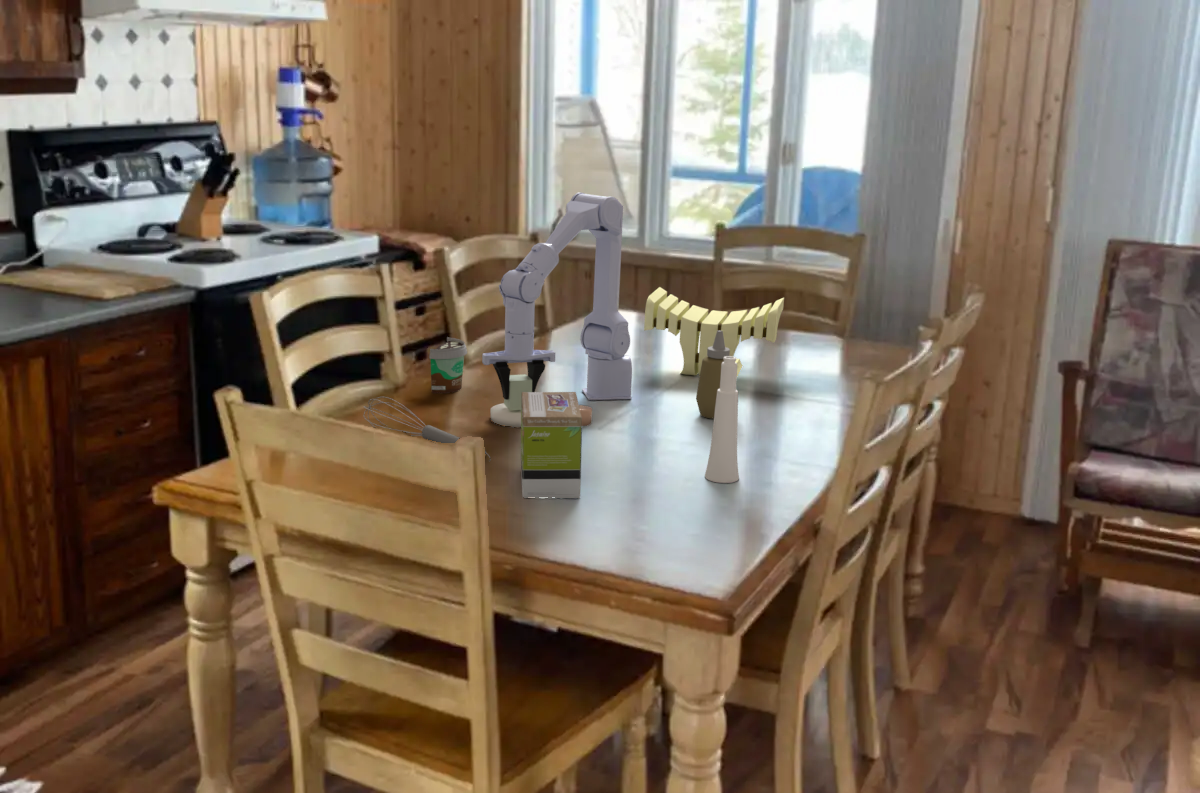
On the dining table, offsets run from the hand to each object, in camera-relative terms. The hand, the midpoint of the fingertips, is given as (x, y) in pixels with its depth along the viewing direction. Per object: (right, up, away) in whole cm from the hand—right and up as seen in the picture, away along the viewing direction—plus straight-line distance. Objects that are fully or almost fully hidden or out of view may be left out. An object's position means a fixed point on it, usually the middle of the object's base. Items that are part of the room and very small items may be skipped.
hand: (518, 397), depth 242 cm
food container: (-16, +2, +22) cm, 27 cm away
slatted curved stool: (+43, +6, +44) cm, 61 cm away
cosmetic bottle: (+38, -14, -28) cm, 49 cm away
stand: (0, -4, +1) cm, 5 cm away
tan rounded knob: (+12, -5, +1) cm, 13 cm away
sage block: (0, -2, +1) cm, 2 cm away
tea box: (+8, -15, -34) cm, 38 cm away
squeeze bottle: (+40, -4, +9) cm, 41 cm away
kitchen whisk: (-16, -9, -14) cm, 23 cm away
